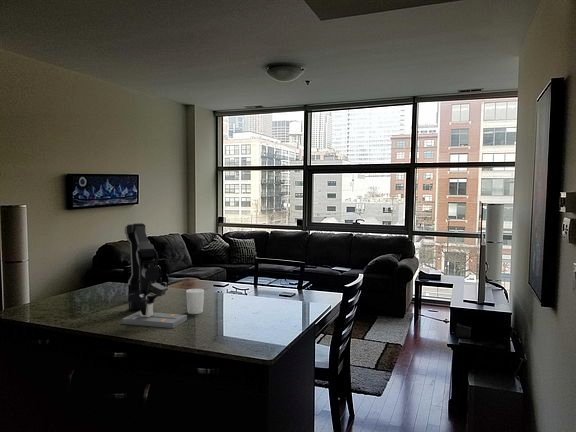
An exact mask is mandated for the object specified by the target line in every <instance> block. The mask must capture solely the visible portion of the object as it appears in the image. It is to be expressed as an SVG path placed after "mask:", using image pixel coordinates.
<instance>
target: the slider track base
mask: <svg viewBox="0 0 576 432" xmlns="http://www.w3.org/2000/svg"><path fill="white" fill-rule="evenodd" d="M187 320H188V315H187V314H177V313H167V312H166V313H164V312H155V311H153V315H152V316H150V317H142V316H140V311H135V312H134V313H131V314H130V315H128V316H125V317H124V318H122V319H121V321H122V324H123V325H133V326H134V325H135V326H145V327H147V326H148V327H158V328H166V329H167V328H168V329H169V328H170V329H174V328H176V327H177V326H179V325H180V324H182V323H184V322H185V321H187Z"/></svg>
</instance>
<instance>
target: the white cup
mask: <svg viewBox="0 0 576 432" xmlns="http://www.w3.org/2000/svg"><path fill="white" fill-rule="evenodd" d="M185 292H186V295H185V296H186V306H187V308H186V309H187V314H190V315H200V314H202V313H203V311H204V310H203V309H204V302H205V301H204V299H205V297H204V295H205V290H204V289H203V288H191V289H190V288H189V289H187V290H186V291H185Z"/></svg>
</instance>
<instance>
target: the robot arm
mask: <svg viewBox="0 0 576 432" xmlns="http://www.w3.org/2000/svg"><path fill="white" fill-rule="evenodd" d="M146 230H147V229H146V224H145V223H142V222H141V223H140V222H137V223H132V224H127V225H126V226H125V227H124V235H125V236H126V237H125V238H126V240H127V242H128V243H129V245H130V247H129V248H130V250H129V251H130V265H131V266H130V267H131V268H130V269H131V276H130V277H129V279H128V282H127V286H126V289H125V297H126V298H127V302H128V308H126V311H131V312H139V311H141V313H142V315H146V306H147V303H153V304H154V303H155V300H156V299H157V298H159V297H162V296H165V295H166V292H167V291H168V290H169V289H168V283H167V282H166V281H163V282H160V283H158V282H157V280H158V279H159V277H160V270H159V269H158V268H157V267H155V265H159V263H160V262H159V261H160V259H159V254H158V251H157V250H156V249H155V247H154V244H152V243H150V242H149V239H148V236H147V233H146V232H147V231H146Z"/></svg>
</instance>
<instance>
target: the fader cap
mask: <svg viewBox="0 0 576 432" xmlns="http://www.w3.org/2000/svg"><path fill="white" fill-rule="evenodd" d="M153 312H154V303H147V306H146V315H142V313H141V311H140V316H142V317H150V316H152V315H153Z"/></svg>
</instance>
